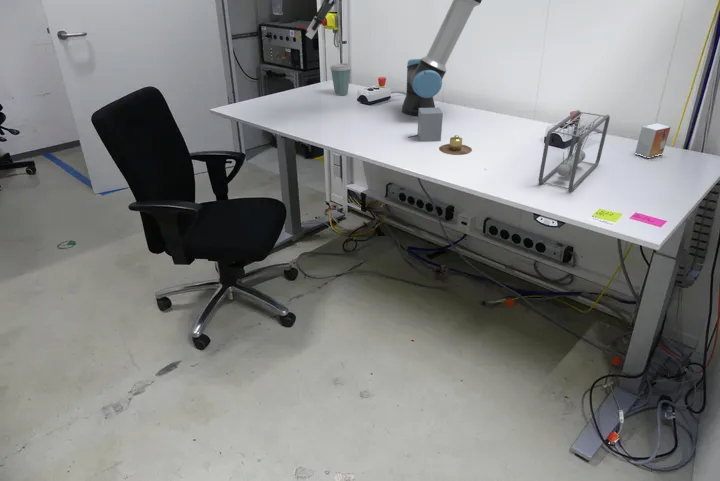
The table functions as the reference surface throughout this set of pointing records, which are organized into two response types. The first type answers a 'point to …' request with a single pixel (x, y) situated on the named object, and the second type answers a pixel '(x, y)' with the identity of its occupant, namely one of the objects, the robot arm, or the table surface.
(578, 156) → the newton's cradle
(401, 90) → the table surface
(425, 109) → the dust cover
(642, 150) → the small box
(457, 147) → the brass weight
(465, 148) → the walnut coaster
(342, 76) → the disposable coffee cup
